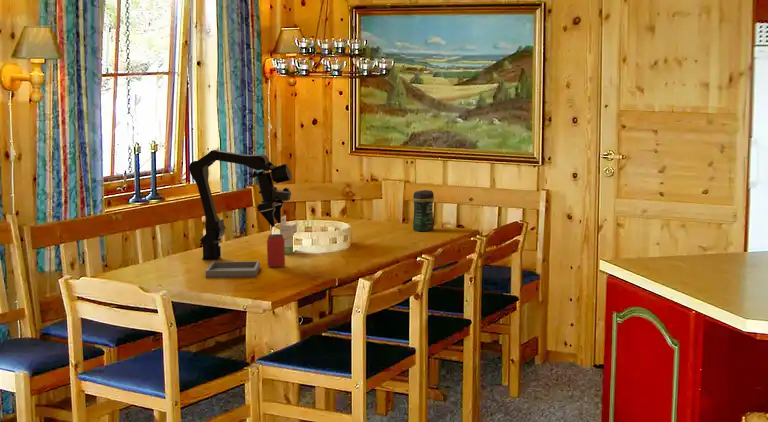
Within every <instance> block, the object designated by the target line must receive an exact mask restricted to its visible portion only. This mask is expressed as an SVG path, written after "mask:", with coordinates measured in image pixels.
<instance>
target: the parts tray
mask: <svg viewBox="0 0 768 422" xmlns="http://www.w3.org/2000/svg"><path fill="white" fill-rule="evenodd" d="M260 269H261V261H260V260H258V261H257V260H254V261H253V260H252V261H247V260H245V261H241V260H240V261H211V263H210V264H209V266H208V267H207V268H206V270H205V279H215V278H217V279H218V278H219V279H222V278H224V279H227V278H229V279H230V278H233V279H234V278H256V277H257V275H258V274H259V271H260Z"/></svg>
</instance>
